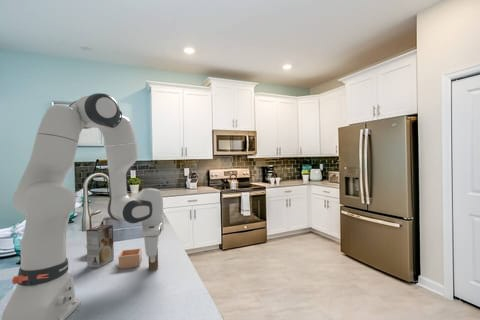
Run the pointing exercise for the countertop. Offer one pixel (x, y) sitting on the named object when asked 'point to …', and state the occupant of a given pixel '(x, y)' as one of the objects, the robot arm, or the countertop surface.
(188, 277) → the countertop surface
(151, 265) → the tan plain wooden block
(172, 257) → the countertop surface
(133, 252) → the peach cubby shelf
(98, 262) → the coffee box
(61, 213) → the robot arm
